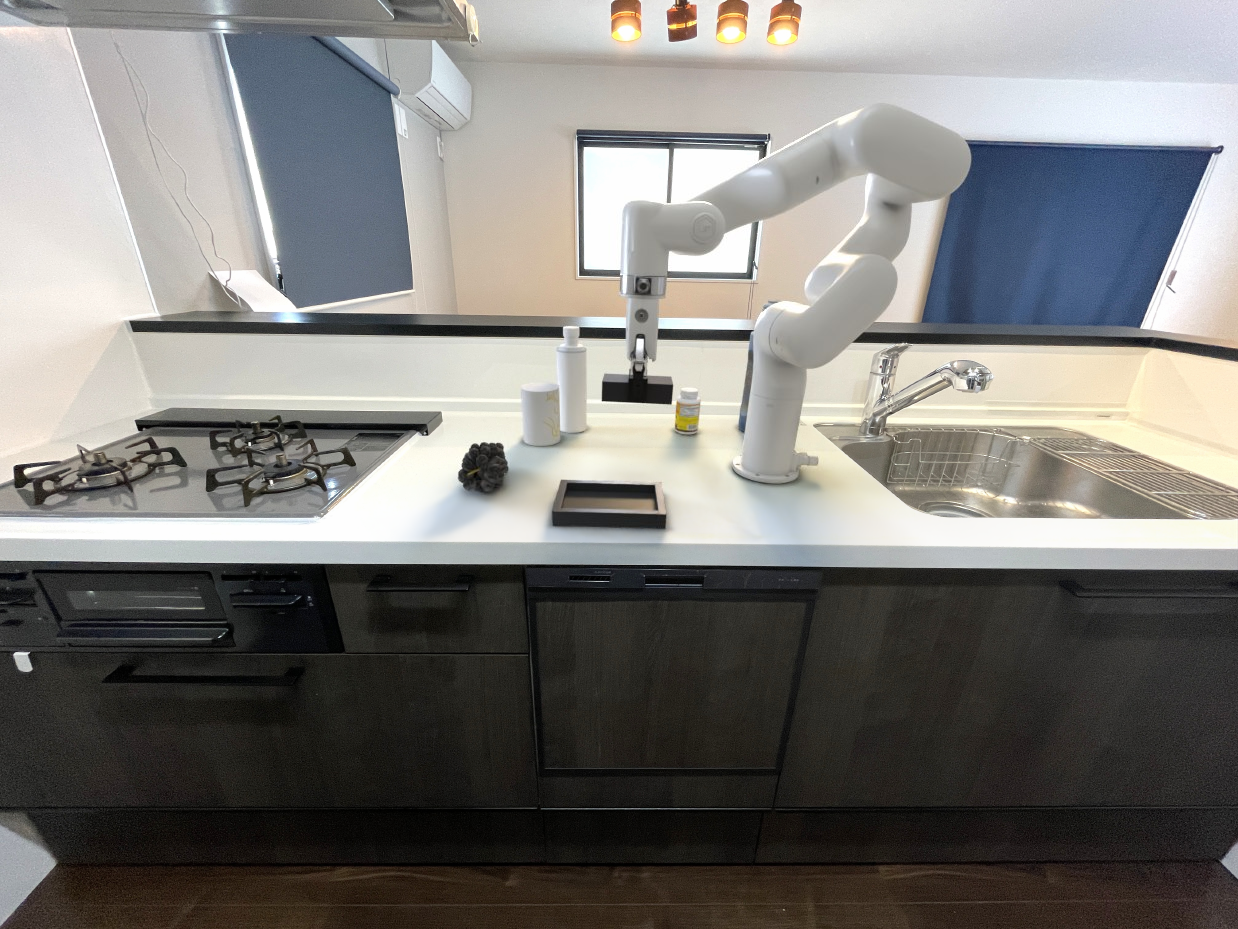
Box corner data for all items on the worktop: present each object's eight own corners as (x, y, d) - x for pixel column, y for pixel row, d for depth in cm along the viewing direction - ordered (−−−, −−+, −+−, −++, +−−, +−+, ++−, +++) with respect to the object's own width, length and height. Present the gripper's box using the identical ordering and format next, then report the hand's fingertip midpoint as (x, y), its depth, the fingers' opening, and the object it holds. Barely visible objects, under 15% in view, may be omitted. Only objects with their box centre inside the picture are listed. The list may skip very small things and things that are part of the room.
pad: (669, 395, 89) (671, 376, 88) (671, 404, 84) (673, 384, 82) (603, 392, 90) (604, 373, 88) (601, 401, 84) (602, 381, 83)
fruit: (482, 419, 93) (459, 446, 79) (524, 433, 94) (509, 462, 80) (471, 459, 96) (447, 492, 82) (512, 472, 97) (495, 507, 83)
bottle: (731, 423, 123) (746, 297, 111) (768, 422, 125) (787, 298, 113) (747, 436, 115) (766, 301, 103) (786, 435, 116) (809, 302, 104)
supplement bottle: (679, 426, 120) (682, 385, 116) (700, 430, 118) (705, 388, 114) (670, 432, 116) (673, 390, 112) (693, 437, 114) (697, 393, 110)
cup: (553, 447, 105) (552, 393, 101) (518, 444, 107) (514, 390, 102) (565, 435, 113) (564, 383, 108) (531, 431, 114) (529, 380, 109)
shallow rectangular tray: (660, 495, 86) (661, 482, 85) (665, 528, 76) (666, 514, 75) (561, 492, 86) (560, 479, 85) (552, 525, 76) (551, 511, 75)
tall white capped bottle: (592, 428, 117) (592, 320, 107) (570, 435, 113) (568, 322, 103) (574, 422, 121) (573, 317, 111) (552, 427, 117) (549, 319, 107)
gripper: (669, 292, 71) (660, 411, 79) (663, 285, 87) (656, 385, 94) (617, 290, 72) (613, 409, 79) (621, 283, 87) (617, 383, 95)
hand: (637, 395), depth 86 cm, fingers closed on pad, 6 cm apart
